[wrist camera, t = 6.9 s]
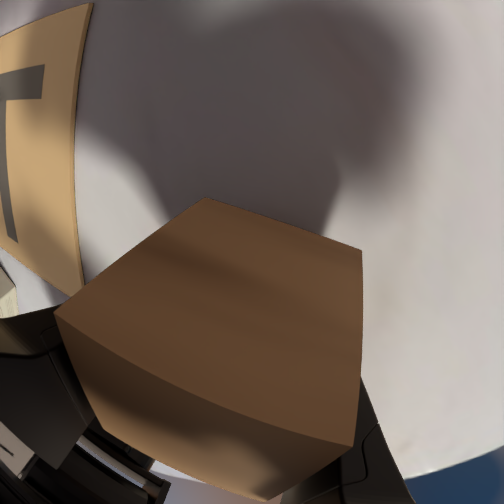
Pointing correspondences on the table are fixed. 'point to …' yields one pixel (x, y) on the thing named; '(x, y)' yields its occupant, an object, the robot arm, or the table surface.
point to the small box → (7, 297)
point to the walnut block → (225, 348)
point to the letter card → (41, 145)
